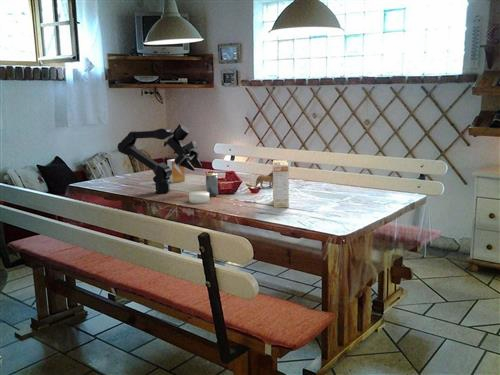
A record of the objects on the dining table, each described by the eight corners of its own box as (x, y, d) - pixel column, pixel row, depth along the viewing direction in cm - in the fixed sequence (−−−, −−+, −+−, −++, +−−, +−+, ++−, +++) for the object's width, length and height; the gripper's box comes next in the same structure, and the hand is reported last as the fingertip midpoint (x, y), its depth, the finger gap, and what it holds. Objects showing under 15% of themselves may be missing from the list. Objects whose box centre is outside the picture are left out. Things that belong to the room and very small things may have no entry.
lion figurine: (275, 184, 275) (275, 168, 273) (280, 186, 270) (280, 170, 268) (252, 187, 269) (251, 171, 267) (256, 189, 264) (256, 172, 262)
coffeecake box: (273, 200, 239) (272, 160, 235) (287, 199, 238) (287, 159, 234) (273, 207, 224) (272, 165, 220) (289, 207, 224) (288, 165, 220)
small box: (172, 183, 286) (171, 161, 283) (168, 181, 291) (166, 159, 288) (185, 181, 290) (184, 159, 288) (180, 179, 295) (179, 158, 293)
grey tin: (205, 196, 250) (204, 175, 248) (207, 193, 256) (206, 172, 254) (217, 196, 249) (216, 175, 247) (219, 193, 255) (218, 172, 253)
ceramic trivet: (187, 203, 236) (186, 195, 235) (191, 198, 246) (191, 191, 245) (207, 203, 235) (207, 195, 234) (211, 198, 245) (211, 191, 244)
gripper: (178, 138, 242) (200, 160, 241) (194, 134, 259) (214, 155, 258) (165, 153, 246) (186, 176, 245) (181, 148, 263) (201, 169, 262)
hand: (197, 168), depth 252 cm, fingers open, 9 cm apart
